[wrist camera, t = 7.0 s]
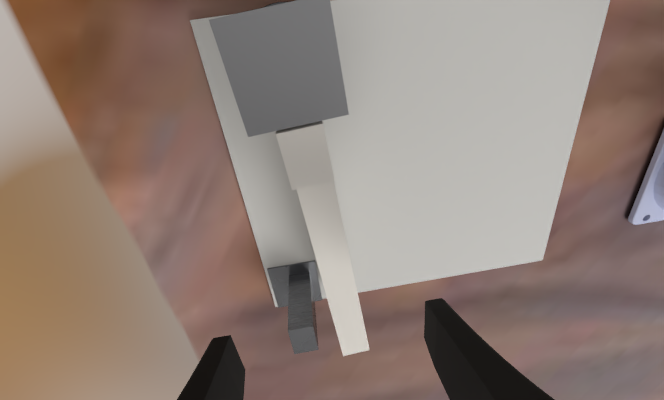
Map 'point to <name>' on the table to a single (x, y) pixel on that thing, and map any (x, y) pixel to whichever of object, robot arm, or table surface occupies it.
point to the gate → (298, 126)
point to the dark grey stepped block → (298, 301)
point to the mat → (430, 135)
